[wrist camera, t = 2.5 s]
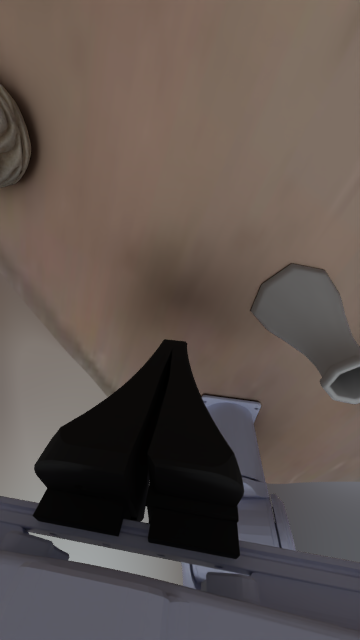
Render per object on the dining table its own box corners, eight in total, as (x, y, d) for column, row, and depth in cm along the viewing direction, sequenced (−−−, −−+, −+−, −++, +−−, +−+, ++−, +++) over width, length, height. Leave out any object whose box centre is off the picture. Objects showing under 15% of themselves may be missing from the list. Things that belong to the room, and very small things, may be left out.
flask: (289, 247, 16) (376, 300, 8) (354, 288, 18) (489, 373, 9) (237, 312, 20) (258, 394, 12) (292, 342, 21) (348, 437, 13)
